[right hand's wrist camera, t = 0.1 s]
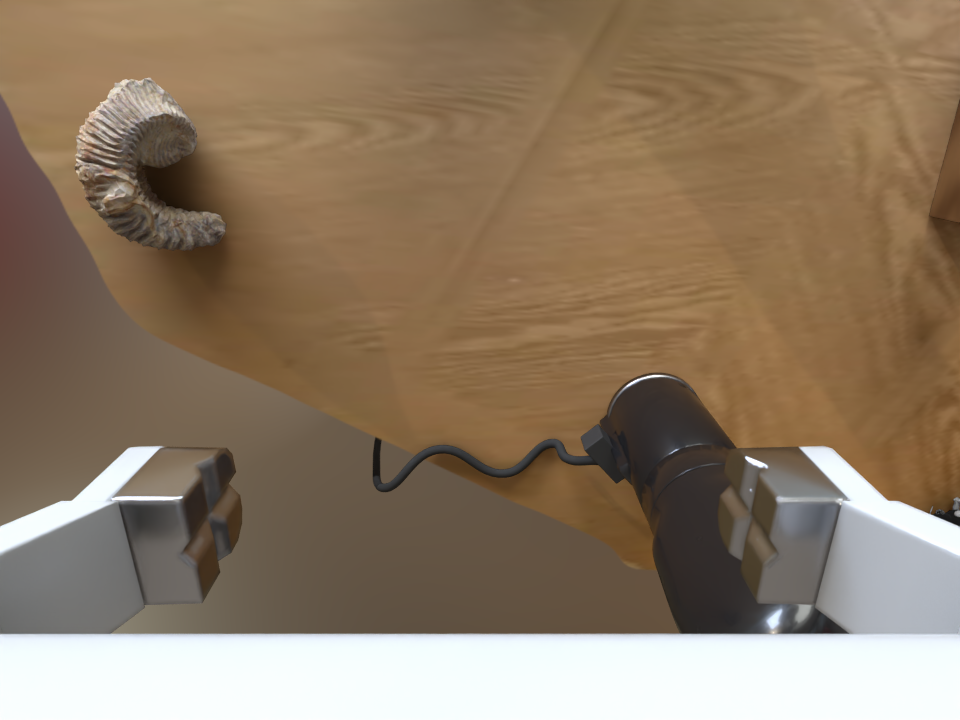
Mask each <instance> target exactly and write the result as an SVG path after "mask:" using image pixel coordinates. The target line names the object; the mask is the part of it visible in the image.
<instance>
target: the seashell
mask: <svg viewBox="0 0 960 720" xmlns="http://www.w3.org/2000/svg"><path fill="white" fill-rule="evenodd" d="M89 113H90V112H89ZM79 133H80V135H79V136H76V138H77V143H78V145H77V151H78V153H77V154H76V161H77V164H76V165H75V166H74V168H75V170H76V173H77V174H78V175H79V180H80V181H81V182H82V184H83V185H84V187H83V189H84V191H85V192H86V193H87V194H86V195H85V198H86V200H87V201H88V202H89V203H90V207H92V208H93V209H95V210H96V211H97V212H98V213H99V214H98V215H99V216H100V217H102V218H103V220H104V221H106V222H107V223H108V227H110V228H111V229H112V230H113V231H114V232H115V233H117V234H118V235H121V236H124V237H126V238H127V239H128V240H129V241H130V242H131V241H133V240H134V241H137V242H138V243H141V244H142V245H143V246H151V247H157V248H158V250H159V249H162V248H163V249H169V250H172V251H174V250H175V249H181V250H182V251H184V250H190V251H192V250H193V249H195V248H196V247H199V246H202V247H204V246H206V245H210V246H214V245H216V244H218V243H219V242H220V240H221V239H222V237H223V236H224V235H225V229H226V225H227V224H226V223H224V222H223V221H222V218H221V216H220V215H218V214H216V213H210V212H196V211H191V212H188V211H186V210H184V209H181V208H179V209H175V208H174V207H172V206H168V207H167V206H166V202H164V201H162V200H158V199H157V195H156V194H155V193H153V192H151V186H150V184H148V183H147V178H146V177H144V174H145V170H144V169H143V168H142V166H145V165H147V166H151V167H155V168H163V167H167V166H169V165H171V164H174V163H176V162H178V161H179V160H180V159H181V158H183V157H184V156H187V155H190V154H192V153H193V152H194V150H195V148H196V144H197V142H196V137H197V133H196V129H195V127H194V125H193V123H192V122H191V120H190V119H189V118H188V116H187V115H186V114H185V113H184V111H183V110H182V108H181V107H180V106H179V105H178V104H177V102H176V101H175V100H174V99H173V98H172V97H171V95H170V94H169V93H167V92H166V91H164V90H163V89H162V88H160V86H158V85H157V84H156V83H155V82H154V81H153V80H152V79H151V78H145V79H143V80H142V81H137V80H132V79H130V80H126V79H125V80H123V81H121V82H120V83H115V88H113V89H112V90H111V91H110V93H109V95H108V98H107V100H106V101H105V102H100V106H99V107H97V108H96V110H95V111H93V112H91V113H90V115H89V118H88V119H85V125H83V126H80V131H79Z"/></svg>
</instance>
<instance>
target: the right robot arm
mask: <svg viewBox="0 0 960 720" xmlns="http://www.w3.org/2000/svg"><path fill="white" fill-rule="evenodd" d="M235 473H236V469H235V464H234V460H233V455H232V453H231V452H230V451H229V450H228V449H227V448H207V447H164V446H148V447H132V448H128V449H127V450H126V451H125V452H124V453H123V454H122V455H121V456H120V457H119V458H118V459H116V460H115V461H114V462H113V463H112V464H111V465H110V466H109V467H108V468H107V469H106V470H105V471H104V472H102V473H101V474H100V475H99V476H98V477H97V478H96V479H95V480H94V481H93V482H92V483H91V484H90V485H89V486H87V487H86V488H85V489H84V490H83V491H82V492H81V493H80V494H79V495H78V496H77V497H76V498H75V499H74V500H72V501H61V502H58V503H56V504H53V505H51V506H49V507H46V508H44V509H41V510H39V511H37V512H34V513H32V514H29V515H27V516H24V517H22V518H20V519H17V520H15V521H12V522H10V523H8V524H5V525H3V526H0V720H960V526H957V525H955V524H952V523H950V522H947V521H945V520H943V519H940V518H938V517H935V516H933V515H931V514H928V513H926V512H923V511H921V510H919V509H916V508H914V507H911V506H909V505H907V504H904V503H902V502H899V501H888V500H887V499H885V498H884V497H883V496H882V495H881V494H880V493H879V492H878V491H877V490H876V489H875V488H874V487H873V486H872V485H871V484H869V483H868V482H867V481H866V480H865V479H864V478H863V477H862V476H861V475H860V474H859V473H858V472H857V471H856V470H854V469H853V468H852V467H851V466H850V465H849V464H848V463H847V462H846V461H845V460H844V459H843V458H842V457H841V456H840V455H838V454H837V453H836V452H835V451H834V450H833V449H832V448H829V447H825V446H811V447H768V448H736V449H731V450H730V452H729V454H728V456H727V458H726V463H725V469H724V473H725V474H726V476H727V477H728V479H729V481H730V482H731V485H730V486H729V487H728V488H727V489H726V490H725V491H724V492H723V493H722V494H721V495H720V499H719V506H718V523H719V531H720V534H721V538H722V541H723V543H724V545H725V547H726V549H727V550H728V552H729V553H730V554H731V555H733V556H735V557H736V558H738V559H739V560H741V561H742V563H741V569H740V573H741V575H742V577H743V579H744V580H745V582H746V584H747V586H748V587H749V589H750V591H751V592H752V594H753V596H754V598H755V599H756V601H757V603H763V604H800V605H815V608H816V609H818V610H819V611H820V612H822V613H823V614H824V615H826V616H827V617H828V618H830V619H831V620H832V621H834V622H835V623H836V624H838V625H839V626H840V627H842V628H843V629H844V630H846V631H847V632H848V633H849V634H111V633H112V632H113V631H115V630H116V629H117V628H119V627H120V626H121V625H123V624H124V623H125V622H127V621H128V620H129V619H131V618H132V617H133V616H135V615H136V614H137V613H139V612H140V611H141V610H142V609H144V608H145V605H160V604H195V603H203V601H204V599H205V598H206V596H207V594H208V592H209V591H210V589H211V587H212V586H213V584H214V582H215V580H216V579H217V577H218V575H219V573H220V569H219V563H218V561H219V560H221V559H222V558H224V557H225V556H227V555H228V554H230V553H231V552H232V550H233V548H234V547H235V545H236V543H237V541H238V538H239V534H240V529H241V525H242V505H241V498H240V495H239V494H238V493H237V492H236V491H235V490H234V489H233V488H232V487H231V486H230V485H229V482H230V481H231V479H232V477H233V476H234V474H235Z"/></svg>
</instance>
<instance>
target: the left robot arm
mask: <svg viewBox="0 0 960 720" xmlns="http://www.w3.org/2000/svg"><path fill="white" fill-rule="evenodd" d="M600 424H601V427H602V428H601V427H600V426H599V425H598V424H597V425H596V426H595V427H593V428H592V429H591V430H589V431H588V432H587V433H585V434H584V435H583V436H581V440H582V443H583V446H584V450H585V451H586V452H587V453H588V454H589V455H590V456H572V455H569V454H567V452H566V450H565V447H564V445H563V443H562V442H561V441H559V440H557V439H548V440H545V441H543V442H541V443H540V444H538V445H537V446H536V447H535V448H534V449H533V450H532V451H531V452H530V453H529V454H528V455H527V456H526V457H525V458H524V459H523V460H522V461H521V462H520V463H518V464H517V465H516V466H514V467H512V468H510V469H503V470H499V469H494V468H491V467H488V466H486V465H485V464H483V463H481V462H480V461H478V460H477V459H475V458H474V457H473V456H471V455H470V454H468V453H466V452H465V451H463V450H461V449H459V448H456V447H453V446H448V445H437V446H433V447H429V448H427V449H425V450H423V451H421V452H420V453H418V454H417V455H416V456H415V457H414V458H412V459H411V460H410V461H409V462H408V464H407V465H406V466H405V467H404V468H403V469H402V470H401V472H400V473H399V474H398V475H397V476H396V477H395V478H394V479H393V480H392V481H391V482H389V483H386V484H383V483H382V482H381V477H380V451H381V442H382V440H381V439H379V438H377V437H375V441H374V449H373V484H374V486H375V488H376V489H377V490H378V491H381V492H389V491H392V490H393V489H395V488H397V487H398V486H399V485H400V484H401V483H402V482H403V481H404V480H405V479H406V478H407V476H408V475H409V474H410V473H411V472H412V471H413V469H414V468H415V467H416V466H417V465H418V464H419V463H421V462H422V461H423V460H424V459H426V458H428V457H430V456H432V455H435V454H441V453H446V454H451V455H454V456H456V457H458V458H460V459H462V460H463V461H465V462H466V463H468V464H469V465H471V466H472V467H474V468H475V469H477V470H478V471H480V472H482V473H484V474H486V475H489V476H492V477H497V478H506V477H511V476H514V475H516V474H518V473H520V472H521V471H523V470H524V469H525V468H526V467H527V466H528V465H530V464H531V462H532V461H533V460H534V459H535V458H536V457H537V456H538V455H539V454H540V453H541V452H543V451H544V450H546V449H548V448H555V449H556V451H557V453H558V456H559V457H560V459H561V460H562V461H564V462H566V463H568V464H571V465H599V466H600V467H601V468H602V469H603V470H604V471H605V472H606V473H607V474H608V475H609V476H610V477H611V478H612V479H613V481H614V482H615V483H618V482H620V481H621V480H623V479H624V478H625V479H626V480H627V481H628V482H629V483H630V484H631V485H632V486H633V487H634V490H635V492H636V495H637V497H638V499H639V502H640V504H641V507H642V509H643V512H644V514H645V516H646V519H647V521H648V524H649V526H650V528H651V531H652V533H653V536H654V538H653V557H654V562H655V565H656V568H657V571H658V574H659V577H660V580H661V583H662V586H663V589H664V592H665V595H666V598H667V601H668V604H669V607H670V610H671V612H672V615H673V618H674V621H675V623H676V626H677V628H678V630H679V632H680V634H849V633H848V632H847V631H846V630H844V629H843V628H842V627H840V626H839V625H838V624H836V623H835V622H834V621H832V620H831V619H830V618H828V617H827V616H826V615H824V614H823V613H822V612H820V611H819V610H818V609H816V608H815V605H800V604H763V603H757V601H756V599H755V598H754V596H753V594H752V592H751V591H750V589H749V587H748V586H747V584H746V582H745V580H744V579H743V577H742V575H741V573H740V569H741V563H742V561H741V560H739V559H738V558H736V557H735V556H733V555H731V554H730V553H729V552H728V550H727V549H726V547H725V545H724V543H723V541H722V538H721V534H720V531H719V523H718V506H719V499H720V495H721V494H722V493H723V492H724V491H725V490H726V489H727V488H728V487H729V486H730V485H731V482H730V481H729V479H728V477H727V476H726V474H725V473H724V469H725V463H726V458H727V456H728V454H729V452H730V450H731V449H736V447H735V445H734V444H733V443H732V441H731V440H730V439H729V437H728V436H727V435H726V434H725V432H724V431H723V430H722V428H721V427H720V426H719V424H718V423H717V422H716V421H715V419H714V418H713V417H712V415H711V414H710V413H709V411H708V410H707V409H706V408H705V406H704V405H703V404H702V402H701V401H700V399H699V398H698V396H697V395H696V393H695V392H694V390H693V389H692V388H691V387H690V386H689V385H688V384H687V383H686V382H685V381H684V380H682V379H680V378H678V377H676V376H674V375H671V374H666V373H649V374H645V375H641V376H638V377H636V378H634V379H632V380H630V381H629V382H627V383H626V384H624V385H623V386H622V387H621V388H620V389H619V390H618V391H617V392H616V394H615V395H614V396H613V398H612V400H611V402H610V404H609V407H608V411H607V415H606V416H605V417H604V418H603V419H601V420H600Z"/></svg>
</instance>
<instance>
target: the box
mask: <svg viewBox="0 0 960 720" xmlns="http://www.w3.org/2000/svg"><path fill="white" fill-rule="evenodd" d="M929 216H931V217H935V218H940V219H944V220H948V221H953V222H957V223H960V101H959V105H958V109H957V113H956V116H955V120H954V124H953V128H952V131H951V135H950V139H949V143H948V147H947V150H946V154H945V158H944V162H943V165H942V169H941V173H940V177H939V180H938V184H937V188H936V192H935V195H934V199H933V203H932V207H931V210H930V214H929Z"/></svg>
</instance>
